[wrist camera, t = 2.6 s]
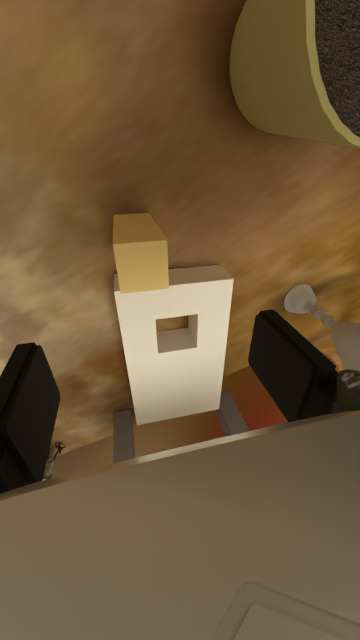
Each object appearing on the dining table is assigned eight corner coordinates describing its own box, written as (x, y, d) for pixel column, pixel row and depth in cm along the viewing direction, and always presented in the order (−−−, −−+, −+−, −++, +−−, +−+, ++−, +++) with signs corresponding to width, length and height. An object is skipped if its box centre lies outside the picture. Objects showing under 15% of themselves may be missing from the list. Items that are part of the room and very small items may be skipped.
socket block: (114, 274, 32) (114, 291, 27) (219, 264, 34) (233, 278, 30) (134, 400, 44) (136, 425, 40) (209, 387, 47) (219, 409, 43)
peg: (113, 214, 28) (112, 244, 18) (149, 212, 29) (167, 240, 19) (118, 250, 30) (120, 293, 20) (151, 247, 31) (169, 288, 21)
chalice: (311, 314, 43) (416, 396, 28) (275, 321, 42) (364, 409, 27) (323, 274, 39) (452, 345, 24) (283, 280, 38) (392, 358, 23)
